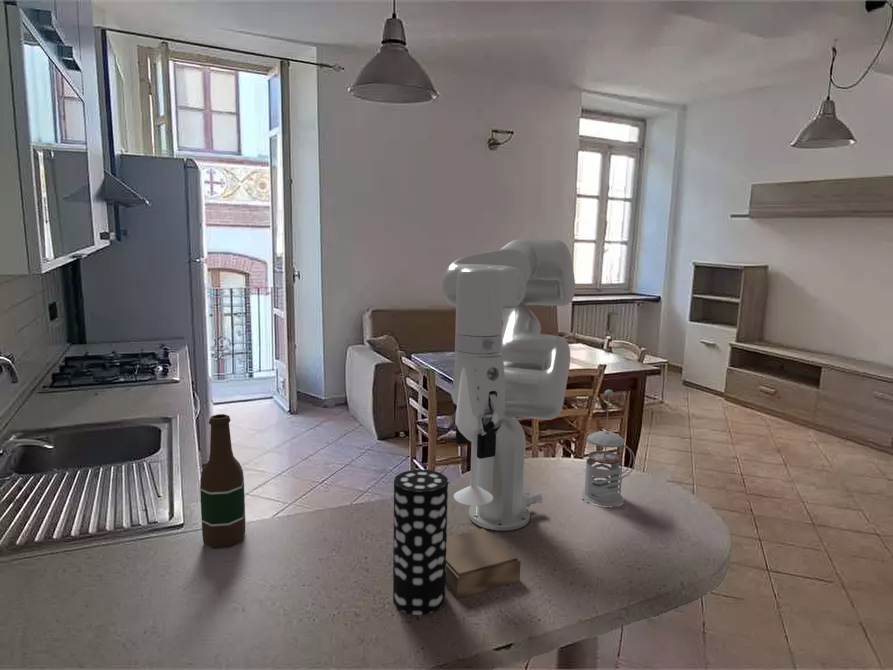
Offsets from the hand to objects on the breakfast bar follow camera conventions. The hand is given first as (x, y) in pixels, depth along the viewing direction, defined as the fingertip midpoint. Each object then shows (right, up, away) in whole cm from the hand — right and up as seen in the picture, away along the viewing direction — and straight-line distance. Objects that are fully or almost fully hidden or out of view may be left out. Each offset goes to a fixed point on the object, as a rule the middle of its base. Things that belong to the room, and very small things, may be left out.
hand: (474, 448), depth 98 cm
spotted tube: (-9, -23, -4) cm, 25 cm away
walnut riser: (0, -22, +4) cm, 22 cm away
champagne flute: (0, -9, +1) cm, 9 cm away
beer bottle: (-47, -20, +13) cm, 52 cm away
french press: (+31, -18, +34) cm, 50 cm away
